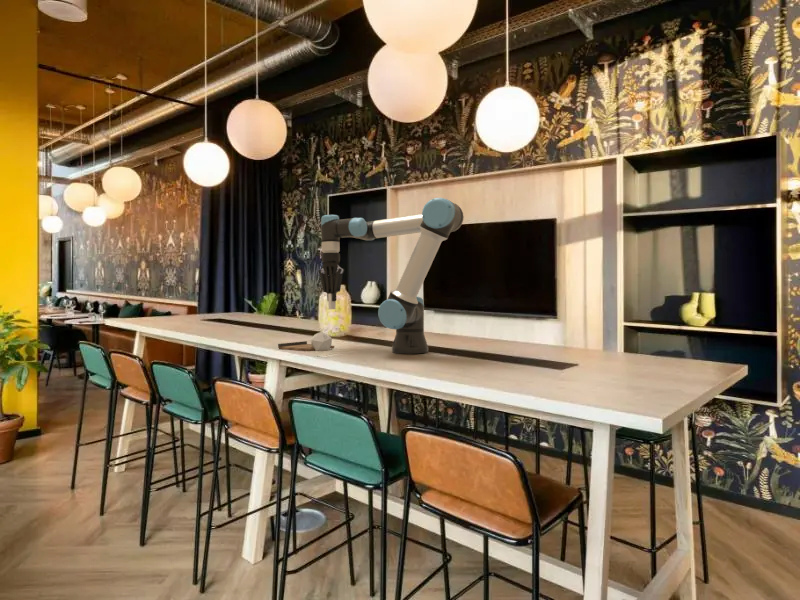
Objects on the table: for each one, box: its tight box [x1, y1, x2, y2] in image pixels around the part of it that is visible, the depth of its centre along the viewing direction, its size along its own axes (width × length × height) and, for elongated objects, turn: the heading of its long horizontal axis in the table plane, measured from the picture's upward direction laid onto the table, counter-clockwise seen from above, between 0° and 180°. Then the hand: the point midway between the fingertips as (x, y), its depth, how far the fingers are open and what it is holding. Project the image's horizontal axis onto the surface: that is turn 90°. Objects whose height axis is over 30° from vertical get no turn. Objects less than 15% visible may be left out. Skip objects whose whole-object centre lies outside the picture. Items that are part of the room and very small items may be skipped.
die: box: [310, 331, 333, 352], centre depth 228 cm, size 8×9×10 cm
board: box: [277, 340, 335, 352], centre depth 235 cm, size 18×16×2 cm
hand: (332, 309), depth 225 cm, fingers closed
